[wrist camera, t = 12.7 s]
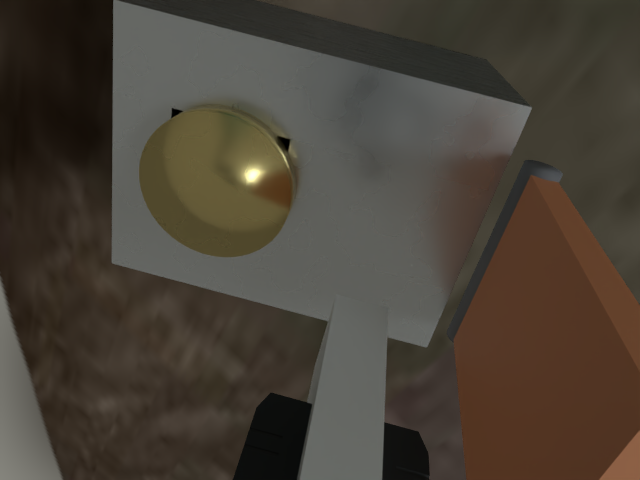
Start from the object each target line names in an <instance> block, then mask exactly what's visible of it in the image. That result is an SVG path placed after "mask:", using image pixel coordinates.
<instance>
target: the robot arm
mask: <svg viewBox="0 0 640 480" xmlns="http://www.w3.org/2000/svg"><path fill="white" fill-rule="evenodd" d="M387 329H388V308H385V307H382V306H378V305H374V304H371V303H367V302H363V301H360V300H356V299H352V298H348V297H345V296H341V295H337V294H336V297H335V300H334V304H333V307H332V310H331V314H330V317H329V320H328V324H327V327H326V330H325V334H324V337H323V340H322V344H321V347H320V350H319V354H318V357H317V360H316V364H315V368H314V373H313V378H312V382H311V387H310V392H309V396H308V401H307V402H303V401H300V400H296V399H292V398H289V397H285V396H282V395H278V394H274V393H270V394H269V395H268V396H267V397H266V398H265V399H264V400H263V401H262V402H261V403H260V405H259V406H258V407H257V408H256V411H255V414H254V417H253V420H252V423H251V426H250V430H249V432H248V435H247V438H246V442H245V445H244V448H243V451H242V454H241V457H240V460H239V463H238V466H237V469H236V472H235V475H234V478H233V480H429V476H430V473H429V456H428V451H427V449H426V447H425V445H424V443H423V440H422V438H421V436H420V434H419V432H418V431H414V430H410V429H407V428H403V427H399V426H396V425H392V424H388V423H385V422H384V413H385V385H386V357H387Z"/></svg>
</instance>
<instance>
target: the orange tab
mask: <svg viewBox="0 0 640 480" xmlns="http://www.w3.org/2000/svg"><path fill="white" fill-rule="evenodd" d="M562 175H563V174H562V172H561V171H559V170H558V169H556V168H555V167H553V166H550V165H548V164H545V163H542V162H539V161H534V160H525V161H524V164H523V166H522V168H521V170H520V172H519V175H518V177H517V179H516V181H515V183H514V185H513V188H512V190H511V192H510V194H509V196H508V199H507V201H506V203H505V205H504V207H503V210H502V212H501V214H500V216H499V218H498V221H497V223H496V225H495V227H494V229H493V232H492V234H491V236H490V238H489V240H488V243H487V245H486V247H485V249H484V251H483V253H482V256H481V258H480V260H479V262H478V264H477V267H476V269H475V271H474V273H473V275H472V278H471V280H470V282H469V284H468V286H467V289H466V291H465V293H464V295H463V297H462V300H461V302H460V304H459V306H458V308H457V311H456V313H455V315H454V317H453V319H452V321H451V324H450V326H449V328H448V330H447V335H448V337H449V339H450V340H451V341H452V342H453V343H454V349H455V360H456V371H457V382H458V393H459V403H460V414H461V425H462V436H463V447H464V458H465V468H466V479H467V480H640V305H639V303H638V302H637V300H636V299H635V297H634V296H633V294H632V293H631V291H630V290H629V288H628V287H627V285H626V284H625V282H624V281H623V279H622V278H621V276H620V275H619V273H618V272H617V270H616V269H615V267H614V266H613V264H612V263H611V261H610V260H609V258H608V257H607V255H606V254H605V252H604V251H603V249H602V248H601V246H600V245H599V243H598V242H597V240H596V239H595V237H594V236H593V234H592V233H591V231H590V230H589V228H588V227H587V225H586V224H585V222H584V221H583V219H582V217H581V216H580V214H579V213H578V211H577V210H576V208H575V207H574V205H573V204H572V202H571V201H570V199H569V198H568V196H567V195H566V193H565V192H564V190H563V189H562V187H561V186H560V184H559V181H560V179H561V177H562Z"/></svg>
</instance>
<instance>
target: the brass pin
mask: <svg viewBox="0 0 640 480" xmlns="http://www.w3.org/2000/svg"><path fill="white" fill-rule="evenodd" d="M290 140H291V139H289V138H285V137H281V136H277V135H276V134H275V132H274V131H273V130H272V129H271V128H270V127H269V126H267V125H266V124H265V123H264V122H262V121H261V120H260V119H258V118H257V117H255V116H253V115H252V114H250V113H248V112H245V111H243V110H241V109H238V108H235V107H231V106H226V105H217V104H208V105H200V106H196V107H192V108H189V109H187V110H184V111H182V112H181V113H179V114H177V115H176V116H174V117H173V118H171V119H170V120H168V121H166V122H165V123H164V124H162V125H161V126H160V127H159V128H157V129H156V130H155V132H154V133H153V134H152V135H151V136H150V138H149V139H148V141H147V143H146V144H145V147H144V149H143V151H142V155H141V158H140V164H139V181H140V187H141V191H142V195H143V198H144V200H145V203H146V205H147V207H148V209H149V211H150V212H151V214H152V216H153V217H154V219H155V220H156V221H157V223H158V224H159V225H160V226H161V227H162V228H163V229H164V230H165V231H166V232H167V233H168V234H169V235H170V236H171V237H172V238H174V239H175V240H177V241H178V242H179V243H181V244H183V245H184V246H186V247H188V248H190V249H192V250H195V251H197V252H200V253H203V254H206V255H211V256H215V257H238V256H244V255H247V254H251V253H253V252H255V251H258V250H260V249H261V248H263V247H265V246H266V245H267V244H269V243H270V242H271V241H272V240H273V239H274V238H275V237H276V236H277V235H278V234H279V232H280V231H281V229H282V227H283V226H284V224H285V221H286V219H287V217H288V215H289V213H290V210H291V208H292V206H293V202H294V199H295V193H296V177H295V170H294V167H293V163H292V160H291V158H290V155H289V153H288V150H289V145H290Z"/></svg>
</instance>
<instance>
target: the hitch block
mask: <svg viewBox="0 0 640 480" xmlns="http://www.w3.org/2000/svg"><path fill="white" fill-rule="evenodd" d="M208 104H217V105H226V106H231V107H235V108H238V109H241V110H243V111H245V112H248V113H250V114H252V115H253V116H255V117H257V118H258V119H260V120H261V121H262V122H264V123H265V124H266V125H267V126H269V127H270V128H271V129H272V130H273V131H274V132H275V134H276V135H277V136H281V137H285V138H289V139H291V140H290V145H289V150H288V153H289V155H290V158H291V160H292V163H293V167H294V170H295V177H296V193H295V199H294V202H293V206H292V208H291V210H290V213H289V215H288V217H287V219H286V221H285V224H284V226H283V227H282V229H281V231H280V232H279V234H278V235H277V236H276V237H275V238H274V239H273V240H272V241H271V242H270V243H269V244H267V245H266V246H265V247H263V248H261V249H260V250H258V251H255V252H253V253H251V254H247V255H244V256H238V257H215V256H211V255H206V254H203V253H200V252H197V251H195V250H192V249H190V248H188V247H186V246H184V245H183V244H181V243H179V242H178V241H177V240H175V239H174V238H172V237H171V236H170V235H169V234H168V233H167V232H166V231H165V230H164V229H163V228H162V227H161V226H160V225H159V224H158V223H157V221H156V220H155V219H154V217H153V216H152V214H151V212H150V211H149V209H148V207H147V205H146V203H145V200H144V198H143V195H142V191H141V187H140V181H139V164H140V158H141V155H142V151H143V149H144V147H145V144H146V143H147V141H148V139H149V138H150V136H151V135H152V134H153V133H154V132H155V130H156V129H157V128H159V127H160V126H161V125H162V124H164V123H165V122H166V121H168V120H170V119H171V118H173V117H174V116H176V115H177V114H179V113H181V112H182V111H184V110H187V109H189V108H192V107H196V106H200V105H208ZM531 109H532V107H531V106H530V105H529V104H528V103H527V102H526V101H525V99H524V98H523V97H522V96H521V95H520V94H519V93H518V92H517V91H516V90H515V89H514V88H513V87H512V86H511V85H510V84H509V83H508V82H507V81H506V79H505V78H504V77H503V76H502V75H501V74H500V73H499V72H498V71H497V70H496V69H495V68H494V67H493V66H492V65H491V64H490V63H489V62H488V61H487V60H486V59H482V58H478V57H474V56H470V55H467V54H463V53H459V52H455V51H451V50H447V49H443V48H439V47H435V46H432V45H428V44H424V43H420V42H416V41H412V40H408V39H404V38H400V37H396V36H393V35H389V34H385V33H381V32H377V31H373V30H369V29H365V28H361V27H358V26H354V25H350V24H346V23H342V22H338V21H334V20H330V19H326V18H323V17H319V16H315V15H311V14H307V13H303V12H299V11H295V10H291V9H287V8H284V7H280V6H276V5H272V4H268V3H264V2H260V1H256V0H113V143H112V263H113V264H117V265H120V266H124V267H128V268H131V269H135V270H139V271H143V272H146V273H150V274H154V275H158V276H161V277H165V278H169V279H173V280H176V281H180V282H184V283H188V284H191V285H195V286H199V287H202V288H206V289H210V290H214V291H217V292H221V293H225V294H229V295H232V296H236V297H240V298H244V299H247V300H251V301H255V302H259V303H262V304H266V305H270V306H273V307H277V308H281V309H285V310H288V311H292V312H296V313H300V314H303V315H307V316H311V317H315V318H318V319H322V320H326V321H328V320H329V317H330V314H331V310H332V307H333V304H334V300H335V297H336V294H337V295H341V296H345V297H348V298H352V299H356V300H360V301H363V302H367V303H371V304H374V305H378V306H382V307H385V308H388V329H387V337H389V338H393V339H397V340H400V341H404V342H408V343H412V344H415V345H419V346H423V347H427V346H428V344H429V342H430V339H431V337H432V335H433V333H434V330H435V328H436V326H437V323H438V321H439V319H440V317H441V314H442V312H443V310H444V307H445V305H446V303H447V301H448V298H449V296H450V294H451V291H452V289H453V287H454V285H455V282H456V280H457V278H458V276H459V273H460V271H461V269H462V266H463V264H464V262H465V260H466V257H467V255H468V253H469V250H470V248H471V246H472V244H473V241H474V239H475V237H476V234H477V232H478V230H479V228H480V225H481V223H482V221H483V218H484V216H485V214H486V212H487V209H488V207H489V205H490V203H491V200H492V198H493V196H494V193H495V191H496V189H497V187H498V184H499V182H500V180H501V177H502V175H503V173H504V171H505V168H506V166H507V164H508V161H509V159H510V157H511V155H512V152H513V150H514V148H515V146H516V143H517V141H518V139H519V136H520V134H521V132H522V130H523V127H524V125H525V123H526V120H527V118H528V116H529V114H530V111H531Z"/></svg>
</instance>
